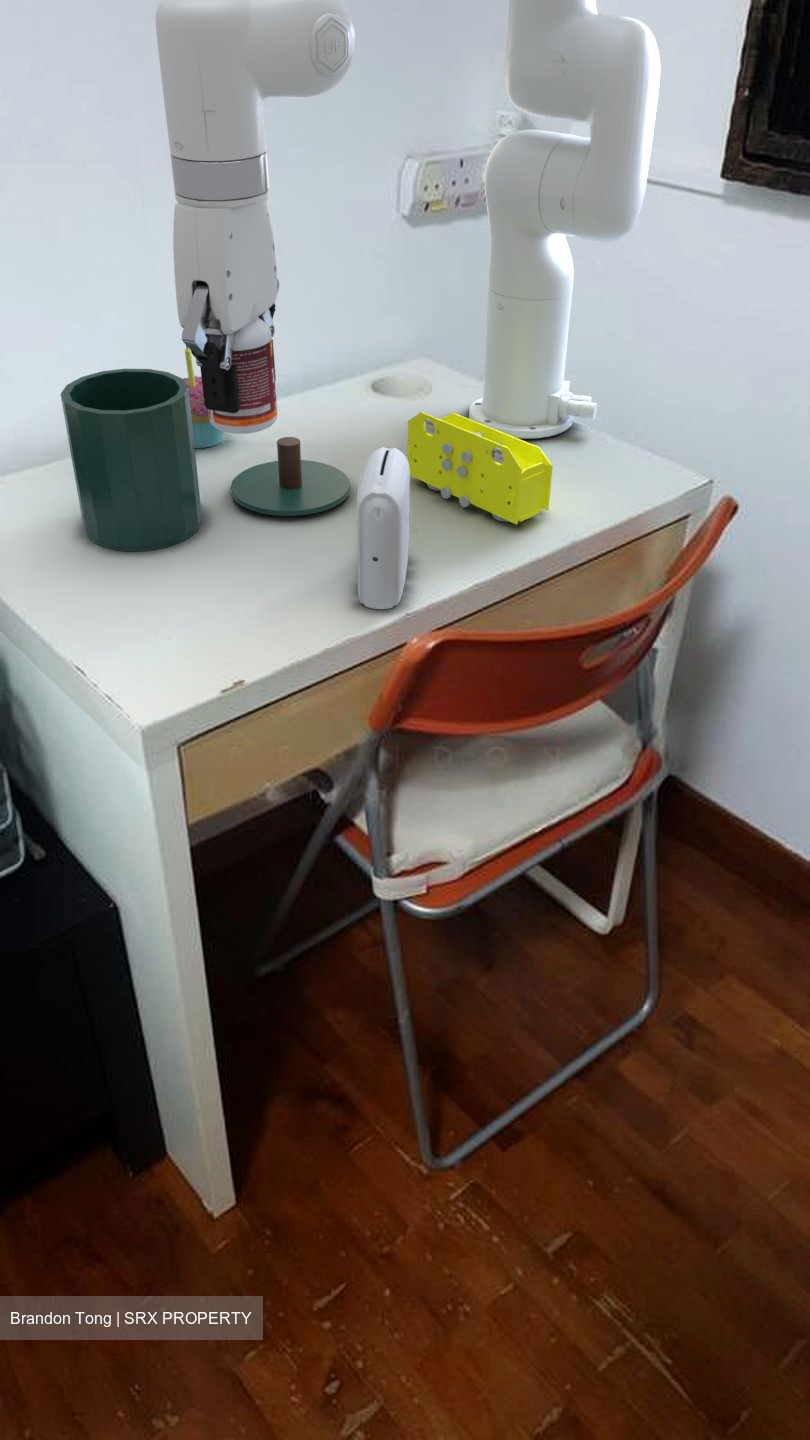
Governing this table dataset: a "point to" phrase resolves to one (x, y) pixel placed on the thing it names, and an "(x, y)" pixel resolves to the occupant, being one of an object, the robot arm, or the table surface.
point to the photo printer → (383, 528)
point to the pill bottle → (250, 378)
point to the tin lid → (290, 484)
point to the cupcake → (199, 410)
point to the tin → (133, 458)
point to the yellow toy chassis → (479, 466)
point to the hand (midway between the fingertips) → (241, 393)
